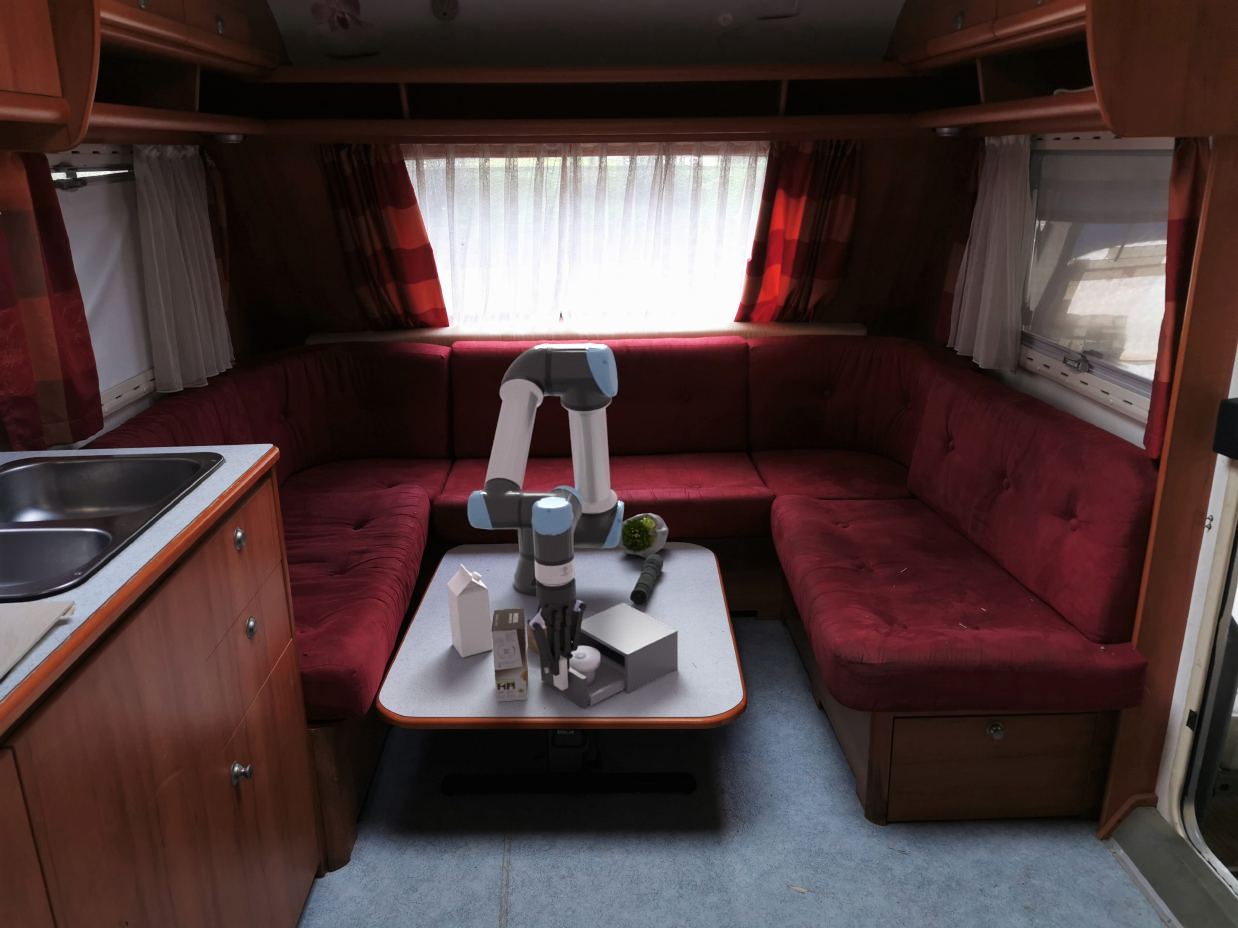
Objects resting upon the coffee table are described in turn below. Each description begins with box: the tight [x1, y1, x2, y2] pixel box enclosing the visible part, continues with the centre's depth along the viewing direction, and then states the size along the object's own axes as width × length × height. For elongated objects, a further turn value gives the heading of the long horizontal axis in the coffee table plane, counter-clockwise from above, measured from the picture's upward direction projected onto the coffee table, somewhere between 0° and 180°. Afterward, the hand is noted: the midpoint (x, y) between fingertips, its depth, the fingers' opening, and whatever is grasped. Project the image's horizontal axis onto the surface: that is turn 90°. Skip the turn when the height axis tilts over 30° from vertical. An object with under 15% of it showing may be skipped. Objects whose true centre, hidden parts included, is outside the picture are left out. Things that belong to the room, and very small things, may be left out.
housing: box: [578, 602, 679, 695], centre depth 192 cm, size 17×14×9 cm
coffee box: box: [491, 607, 529, 702], centre depth 183 cm, size 9×6×16 cm
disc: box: [570, 646, 601, 673], centre depth 184 cm, size 8×8×2 cm
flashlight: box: [629, 553, 664, 607], centre depth 227 cm, size 5×21×5 cm, turn 167°
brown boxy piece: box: [525, 619, 547, 656], centre depth 199 cm, size 4×4×6 cm
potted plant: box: [618, 512, 669, 559], centre depth 244 cm, size 12×13×15 cm
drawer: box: [539, 653, 625, 709], centre depth 185 cm, size 15×14×7 cm
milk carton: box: [446, 563, 493, 658], centre depth 198 cm, size 7×7×19 cm
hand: (560, 686), depth 179 cm, fingers closed
